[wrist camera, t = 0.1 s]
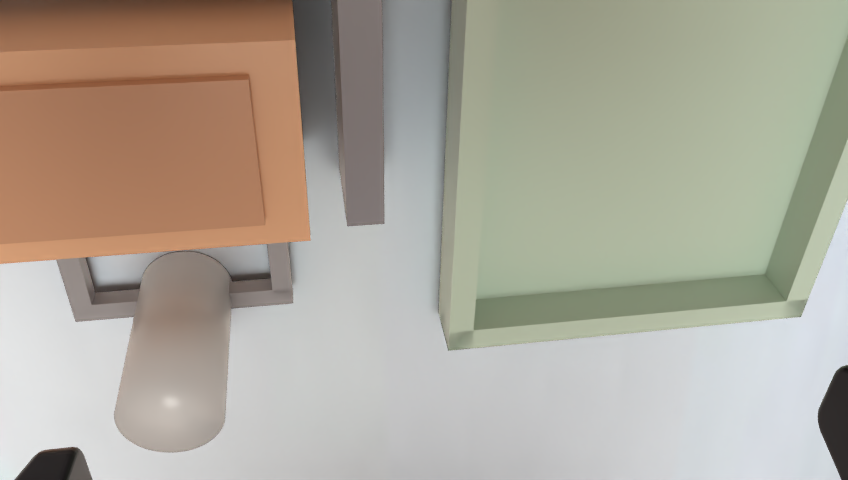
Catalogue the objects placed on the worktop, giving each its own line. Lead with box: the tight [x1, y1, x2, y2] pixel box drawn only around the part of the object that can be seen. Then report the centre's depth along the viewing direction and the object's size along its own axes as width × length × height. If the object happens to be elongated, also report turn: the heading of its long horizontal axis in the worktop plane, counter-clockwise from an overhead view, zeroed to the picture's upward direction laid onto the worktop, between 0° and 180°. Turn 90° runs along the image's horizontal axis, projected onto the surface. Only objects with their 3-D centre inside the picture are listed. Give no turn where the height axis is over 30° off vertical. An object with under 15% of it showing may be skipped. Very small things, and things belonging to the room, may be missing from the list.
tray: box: [439, 0, 848, 351], centre depth 23 cm, size 16×13×2 cm
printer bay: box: [331, 0, 384, 226], centre depth 20 cm, size 8×12×3 cm, turn 89°
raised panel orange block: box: [0, 0, 311, 452], centre depth 21 cm, size 8×11×6 cm
